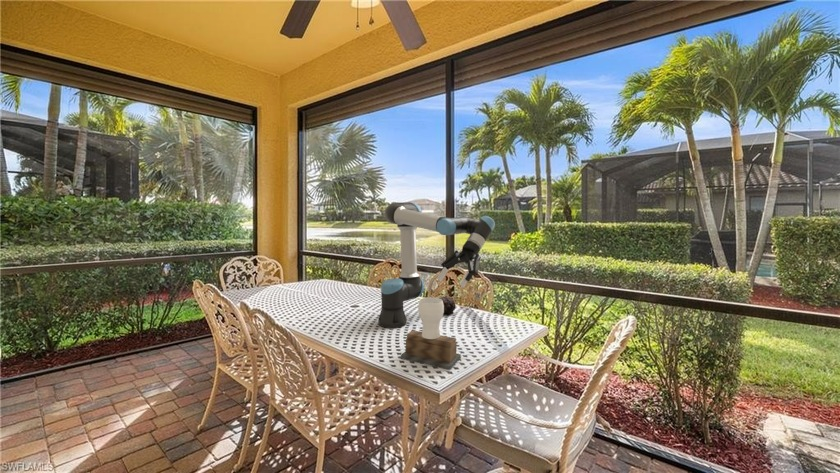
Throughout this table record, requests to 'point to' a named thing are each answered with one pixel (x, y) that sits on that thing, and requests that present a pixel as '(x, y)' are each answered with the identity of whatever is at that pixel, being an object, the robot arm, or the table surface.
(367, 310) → the table surface
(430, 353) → the brown wooden block
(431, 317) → the cup
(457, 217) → the robot arm
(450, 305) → the pine cone
